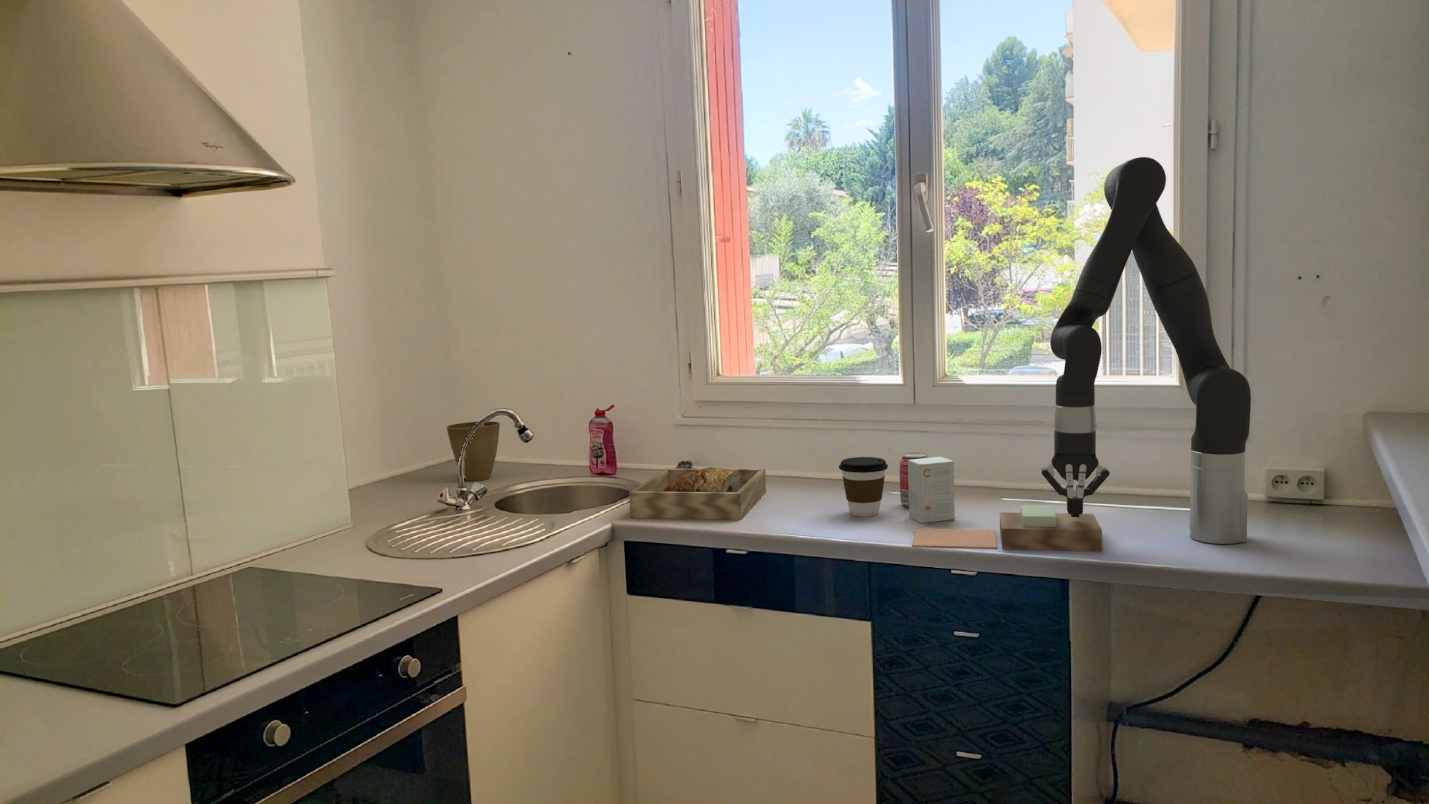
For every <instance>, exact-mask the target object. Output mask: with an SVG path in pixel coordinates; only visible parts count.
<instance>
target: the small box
mask: <svg viewBox="0 0 1429 804" xmlns="http://www.w3.org/2000/svg"><path fill="white" fill-rule="evenodd" d="M954 463H955V462H954V460H951V459H949V458H946V457H943V456H933V457H928V458H922V459H912V460H908V484H909V507H908V509H909V510H908V512H909V514H908V515H909V518H911V519H913V520H914V521H916V522H918V523H920V524H926V523H927V524H928V523H934V522H941V521H942V522H943V521H951V520H955V518H956V514H955V513H956V511H955V510H956V509H955V508H956V506H955V467H954V466H955V465H954Z"/></svg>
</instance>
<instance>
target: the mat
mask: <svg viewBox="0 0 1429 804" xmlns="http://www.w3.org/2000/svg"><path fill="white" fill-rule="evenodd" d="M912 539H913V540H912V544H911V547H912V548H913V547H914V548H915V547H916V548H948V549H949V548H951V549H952V548H953V549H955V548H957V549H994V550H995V549H996V550H997V537H996V530H995V529H970V528H969V529H965V528H963V529H961V528H915V529H914V534H913V538H912Z"/></svg>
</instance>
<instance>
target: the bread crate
mask: <svg viewBox="0 0 1429 804" xmlns="http://www.w3.org/2000/svg"><path fill="white" fill-rule="evenodd" d="M700 469H701V468H664V469H663V470H661V471H660V472H658V473H657V474H655V475H653V476H652V477H650V478H649V479H647V480H646V481H644V482H643V483H641V484H640V485H638V486H637V487H635V488H634V489H632V490H630V491H629V492H628V496H629V511H630V512H629V513H630V518H631V519H632V518H633V519H684V520H685V519H686V520H689V519H690V520H729V519H730V520H731V519H733V520H734V519H736V521H737V520H739V519H740V520H739V521H741V520H742V519H743V518H745V516H747V514H748V513H749V512H750V511H751V510H752V509H753V508H754V507H755V505H756V504H757V503H758V502H759V501H760V500H761V499H762V498H763V497H764V495H766V494H767V478H766V474H767V473H766V468H732V469H733V470H737V471H740V472H741V473H742V476H743V481H742V483H743V486H742V487H741V488H740V489H739V490H738V491H737V492H660V491H661V490H662V489H663V488H664V487H665V486H666V485H667V484H669V483H670V482H671V481H673V480H674V479H676V478H678V477H681V476H683V475H685V474H687V473H690V472H694V471H697V470H700ZM733 520H731V521H733Z"/></svg>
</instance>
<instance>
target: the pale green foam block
mask: <svg viewBox="0 0 1429 804" xmlns="http://www.w3.org/2000/svg"><path fill="white" fill-rule="evenodd" d="M1020 513H1021V519H1022V523H1023V526H1033V527H1056V515H1055V513H1056V512H1055V510H1054V508H1053V505H1030V504H1029V505H1027V504H1026V505H1024V504H1023V505H1020Z"/></svg>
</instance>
